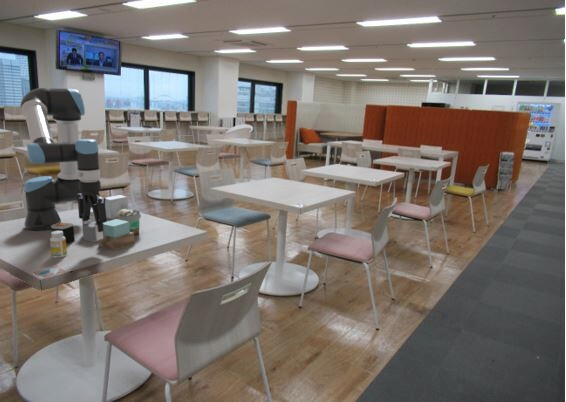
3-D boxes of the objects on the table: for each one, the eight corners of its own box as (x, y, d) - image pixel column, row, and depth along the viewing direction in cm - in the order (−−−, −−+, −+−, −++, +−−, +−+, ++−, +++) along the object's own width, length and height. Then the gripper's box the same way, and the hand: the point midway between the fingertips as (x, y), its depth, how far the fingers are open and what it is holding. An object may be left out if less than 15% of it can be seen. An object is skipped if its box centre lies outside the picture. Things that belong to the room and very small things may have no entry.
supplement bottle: (55, 259, 156) (52, 235, 154) (49, 255, 159) (46, 232, 157) (69, 255, 160) (67, 232, 158) (63, 252, 163) (61, 229, 161)
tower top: (101, 234, 171) (100, 223, 169) (116, 230, 177) (115, 219, 176) (114, 238, 167) (113, 226, 166) (129, 233, 174) (129, 221, 173)
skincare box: (111, 219, 209) (109, 199, 206) (103, 217, 212) (102, 197, 210) (128, 215, 217) (127, 196, 215) (121, 213, 221) (119, 194, 218)
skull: (145, 220, 205) (134, 209, 197) (134, 238, 200) (122, 226, 192) (129, 216, 210) (117, 205, 203) (117, 233, 206) (104, 222, 198)
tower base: (99, 246, 171) (98, 235, 170) (118, 239, 180) (117, 229, 179) (115, 250, 167) (114, 239, 166) (134, 243, 175) (134, 232, 174)
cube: (83, 239, 160) (82, 224, 158) (95, 235, 165) (94, 221, 163) (93, 242, 157) (91, 227, 156) (105, 238, 162) (103, 223, 161)
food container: (132, 239, 180) (131, 217, 178) (119, 238, 181) (118, 216, 179) (147, 231, 192) (145, 210, 189) (135, 230, 193) (133, 209, 191)
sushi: (63, 245, 170) (61, 227, 168) (48, 242, 173) (46, 224, 171) (78, 239, 178) (77, 222, 176) (64, 237, 180) (62, 220, 179)
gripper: (64, 178, 156) (70, 236, 162) (97, 185, 148) (102, 245, 154) (81, 175, 162) (86, 231, 168) (114, 181, 154) (118, 239, 160)
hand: (94, 237), depth 161 cm, fingers closed on cube, 5 cm apart
